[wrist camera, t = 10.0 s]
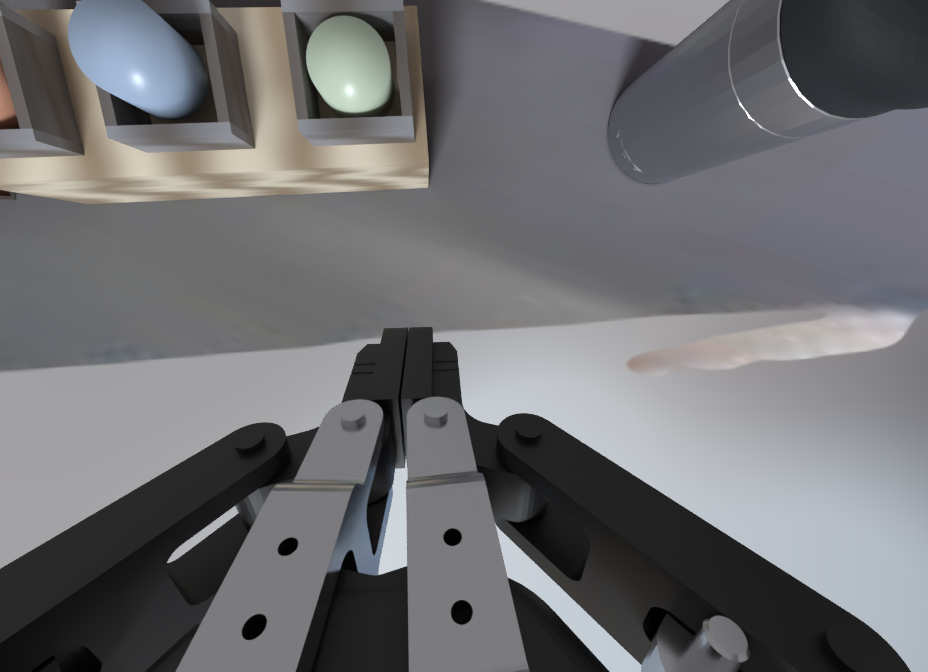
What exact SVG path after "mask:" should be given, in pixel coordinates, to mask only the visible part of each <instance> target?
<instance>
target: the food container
mask: <svg viewBox="0 0 928 672" xmlns="http://www.w3.org/2000/svg"><path fill="white" fill-rule="evenodd" d="M0 199H16V197H15V193H14V192H10V191H4V190H0Z"/></svg>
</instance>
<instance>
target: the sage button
mask: <svg viewBox="0 0 928 672" xmlns="http://www.w3.org/2000/svg"><path fill="white" fill-rule="evenodd" d="M306 63H307V68H308V72H309V75H310V77H311V80H312V82H313V83H314V85H315V87H316V88H317V90H318V91H319V93H320V94H321V96H322V97H323V99H324V100H325V102H326V104H327V105H328V107H329V108H330V110H331V111H332V112H333V113H334V114H335V115H336V116H337V117H338V118H359V117H385V116H386V115H387V113H388V112H389V110H390V108H391V106H392V103H393V99H394V82H393V76H392V71H391V66H390V60H389V55H388V51H387V48H386V46H385V44H384V42H383V40H382V38H381V37H380V35H379V34H378V33H377V31H376V30H375V29H374V28H373V27H371V26H370V25H369V24H368V23H366V22H365V21H363V20H361V19H358V18H356V17H352V16H336V17H332V18H330V19H327V20H326V21H324V22H322V23H321V24H320V25H319V26H318V27H317V28H316V29H315V30H314V32H313V33H312V35H311V37H310V39H309V42H308V45H307V51H306Z"/></svg>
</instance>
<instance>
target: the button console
mask: <svg viewBox="0 0 928 672" xmlns="http://www.w3.org/2000/svg"><path fill="white" fill-rule="evenodd" d="M141 1H143V2H144V3H145V4H147V5H148V6H149V7H150V8H151V9H152V10H153V11H155V12H156V13H157V14H158V15H159V16H160V17H161V18H162V19H163V20H164V21H166V22H167V23H168V24H169V25H170V26H171V27H172V28H173V29H174V30H176V31H177V32H178V33H179V34H180V35H181V36H182V37H183V38H184V39H186V40H187V41H188V42H189V43H190V44H191V45H192V46H193V47H194V48H195V49H196V50H197V52H198V53H199V54H200V56H201V58H202V59H203V61H204V63H205V66H206V69H207V72H208V77H209V90H208V95H207V98H206V100H205V102H204V104H203V106H202V107H201V108H200V109H199V111H197V112H196V113H195V114H194V115H192V116H190V117H188V118H186V119H182V120H165V119H161V118H158V117H156V116H153V115H151V114H149V113H147V112H146V111H144V110H142V109H140V108H138V107H136V106H134V105H132V104H130V103H128V102H126V101H124V100H122V99H120V98H119V97H117V96H115V95H113V94H111V93H109V92H107V91H105V90H103V89H102V88H100V87H98V86H97V85H96V84H94V83H93V82H92V81H91V80H90V79H89V78H88V77H87V76H86V75H85V74H84V73H83V72H82V70H81V69H80V67H79V66H78V64H77V63H76V61H75V59H74V57H73V54H72V52H71V48H70V45H69V39H68V26H69V21H70V17H71V14H72V12H73V10H74V9H58V10H11V9H10V8H8V7H6V6H5V5H3V4H1V3H0V58H1V62H2V65H3V69H4V73H5V76H6V80H7V83H8V87H9V91H10V94H11V98H12V102H13V105H14V109H15V112H16V116H17V120H18V123H19V127H20V129H4V130H0V190H4V191H10V192H17V193H23V194H29V195H36V196H42V197H48V198H54V199H61V200H67V201H73V202H80V203H86V204H104V203H124V202H145V201H165V200H185V199H206V198H226V197H247V196H267V195H288V194H308V193H328V192H349V191H369V190H390V189H410V188H428V180H429V158H428V145H427V132H426V118H425V105H424V92H423V79H422V65H421V52H420V39H419V26H418V13H417V6H404V5H403V0H281V7H243V8H215V7H214V5H213V4H212V3H211V2H210V1H209V0H141ZM79 2H80V1H76V3H77V4H78V3H79ZM336 16H352V17H356V18H358V19H361V20H363V21H365V22H366V23H368V24H369V25H370V26H371V27H373V28H374V29H375V30H376V31H377V33H378V34H379V35H380V37H381V38H382V40H383V42H384V44H385V46H386V48H387V51H388V55H389V60H390V66H391V71H392V76H393V82H394V99H393V103H392V106H391V108H390V110H389V112H388V113H387V115H386V116H385V117H359V118H338V117H337V116H336V115H335V114H334V113H333V112H332V111H331V110H330V108H329V107H328V105H327V104H326V102H325V100H324V99H323V97H322V96H321V94H320V93H319V91H318V90H317V88H316V87H315V85H314V83H313V82H312V80H311V77H310V75H309V72H308V68H307V63H306V51H307V45H308V42H309V39H310V37H311V35H312V33H313V32H314V30H315V29H316V28H317V27H318V26H319V25H320V24H321V23H322V22H324V21H326V20H327V19H330V18H332V17H336Z"/></svg>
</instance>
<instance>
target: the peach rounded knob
mask: <svg viewBox="0 0 928 672" xmlns="http://www.w3.org/2000/svg"><path fill="white" fill-rule="evenodd" d="M4 129H20V127H19V123H18V120H17V116H16V112H15V109H14V105H13V102H12V98H11V94H10V91H9V87H8V83H7V80H6V76H5V73H4V69H3V65H2V62H1V58H0V130H4Z"/></svg>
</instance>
